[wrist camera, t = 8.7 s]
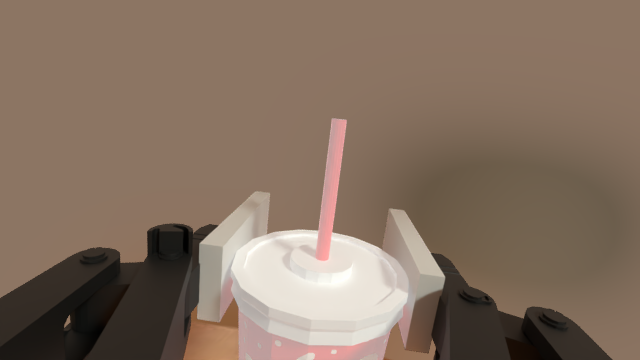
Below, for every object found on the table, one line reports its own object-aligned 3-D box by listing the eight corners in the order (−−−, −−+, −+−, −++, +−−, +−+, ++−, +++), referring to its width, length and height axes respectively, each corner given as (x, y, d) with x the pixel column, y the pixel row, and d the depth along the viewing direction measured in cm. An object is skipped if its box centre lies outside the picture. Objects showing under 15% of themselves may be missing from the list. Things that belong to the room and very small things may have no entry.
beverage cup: (188, 543, 10) (202, 106, 7) (247, 384, 16) (268, 108, 13) (376, 582, 10) (476, 139, 7) (365, 405, 16) (416, 126, 13)
